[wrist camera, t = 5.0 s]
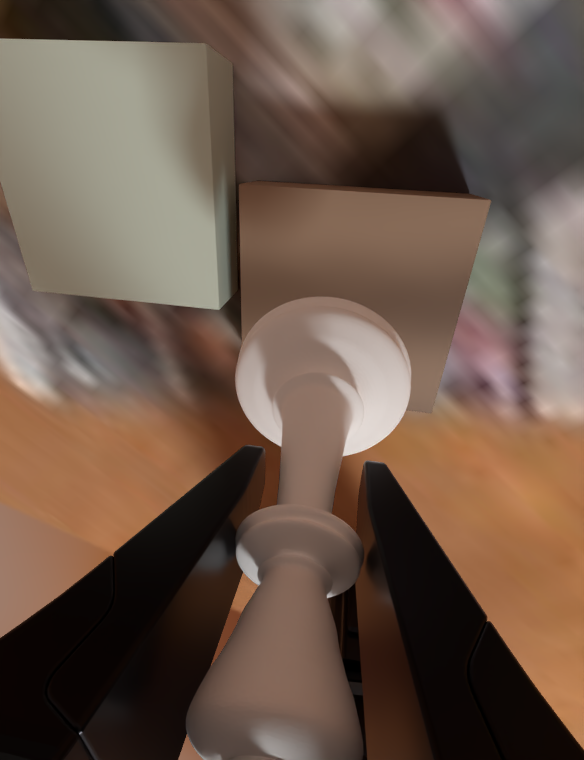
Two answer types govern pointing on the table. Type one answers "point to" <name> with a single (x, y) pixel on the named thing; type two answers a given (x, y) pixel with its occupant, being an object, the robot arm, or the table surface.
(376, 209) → the walnut slab
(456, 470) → the table surface
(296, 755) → the chess piece
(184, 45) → the sage slab
